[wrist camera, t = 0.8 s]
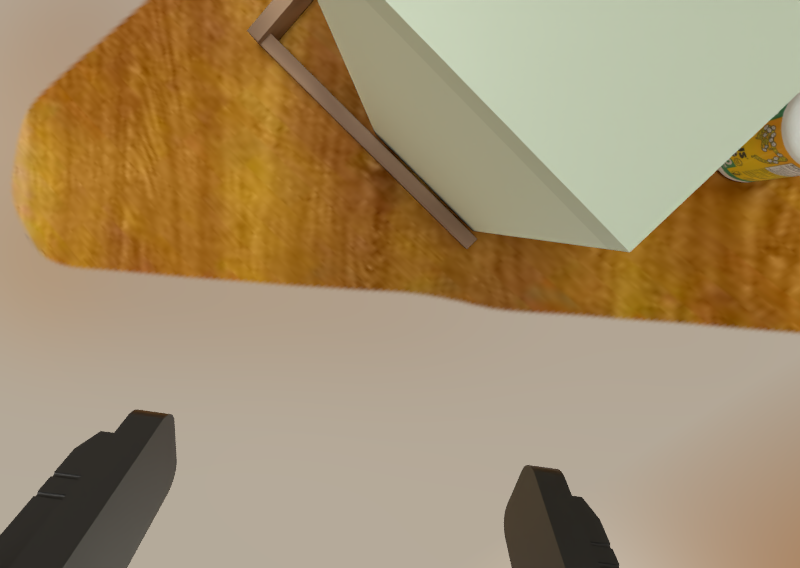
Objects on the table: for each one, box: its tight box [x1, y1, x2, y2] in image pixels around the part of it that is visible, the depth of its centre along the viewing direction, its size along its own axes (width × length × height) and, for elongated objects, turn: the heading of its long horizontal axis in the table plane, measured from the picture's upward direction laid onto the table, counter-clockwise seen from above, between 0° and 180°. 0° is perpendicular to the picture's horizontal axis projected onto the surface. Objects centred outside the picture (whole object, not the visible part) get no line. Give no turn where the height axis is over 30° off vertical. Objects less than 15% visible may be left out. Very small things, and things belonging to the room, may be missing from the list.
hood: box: [318, 0, 800, 252], centre depth 20 cm, size 12×10×24 cm
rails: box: [247, 0, 477, 249], centre depth 31 cm, size 14×21×2 cm
